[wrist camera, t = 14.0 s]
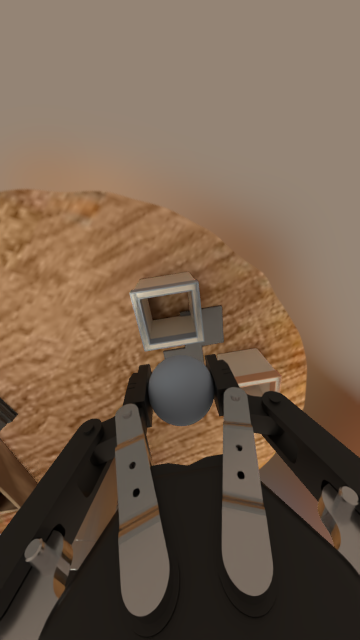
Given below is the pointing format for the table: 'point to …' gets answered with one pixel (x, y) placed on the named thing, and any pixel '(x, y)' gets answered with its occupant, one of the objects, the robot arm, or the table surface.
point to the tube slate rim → (172, 328)
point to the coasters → (211, 333)
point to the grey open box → (252, 371)
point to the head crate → (13, 482)
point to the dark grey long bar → (6, 414)
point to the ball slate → (181, 390)
